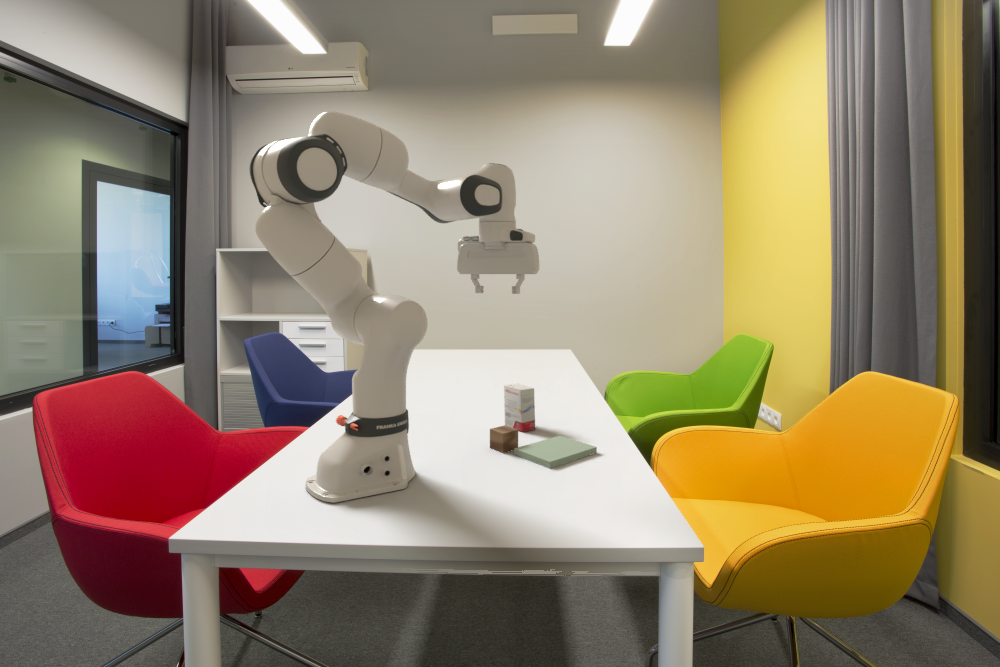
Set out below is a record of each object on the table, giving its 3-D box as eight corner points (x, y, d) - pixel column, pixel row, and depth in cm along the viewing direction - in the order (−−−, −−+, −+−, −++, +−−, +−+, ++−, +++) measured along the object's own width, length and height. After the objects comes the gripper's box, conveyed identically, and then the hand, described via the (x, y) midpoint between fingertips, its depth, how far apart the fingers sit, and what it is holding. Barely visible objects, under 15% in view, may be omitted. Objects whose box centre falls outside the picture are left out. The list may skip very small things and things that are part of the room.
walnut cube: (502, 453, 131) (502, 433, 130) (489, 448, 134) (489, 428, 134) (518, 449, 134) (518, 429, 133) (505, 444, 138) (505, 425, 137)
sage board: (549, 468, 121) (549, 461, 120) (514, 454, 130) (514, 448, 130) (596, 453, 131) (596, 447, 131) (560, 441, 140) (560, 435, 140)
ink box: (535, 429, 150) (536, 388, 149) (521, 432, 147) (521, 390, 146) (517, 422, 157) (517, 382, 156) (503, 425, 154) (503, 384, 153)
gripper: (452, 235, 129) (452, 293, 131) (533, 233, 122) (533, 294, 124) (463, 237, 135) (463, 292, 137) (541, 235, 128) (541, 293, 130)
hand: (497, 293), depth 130 cm, fingers open, 8 cm apart
